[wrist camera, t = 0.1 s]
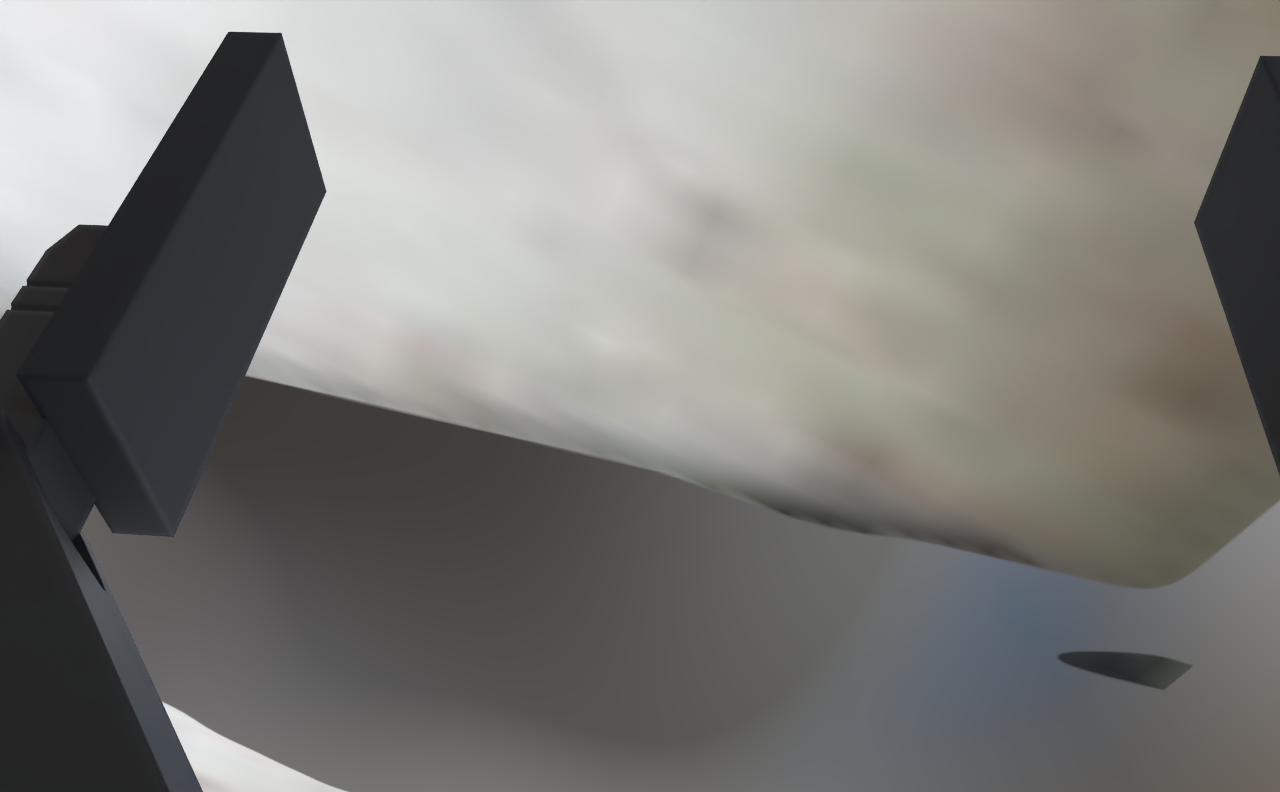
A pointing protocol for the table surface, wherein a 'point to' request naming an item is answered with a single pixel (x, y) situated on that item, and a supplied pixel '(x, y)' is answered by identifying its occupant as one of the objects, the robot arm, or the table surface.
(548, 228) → the table surface
